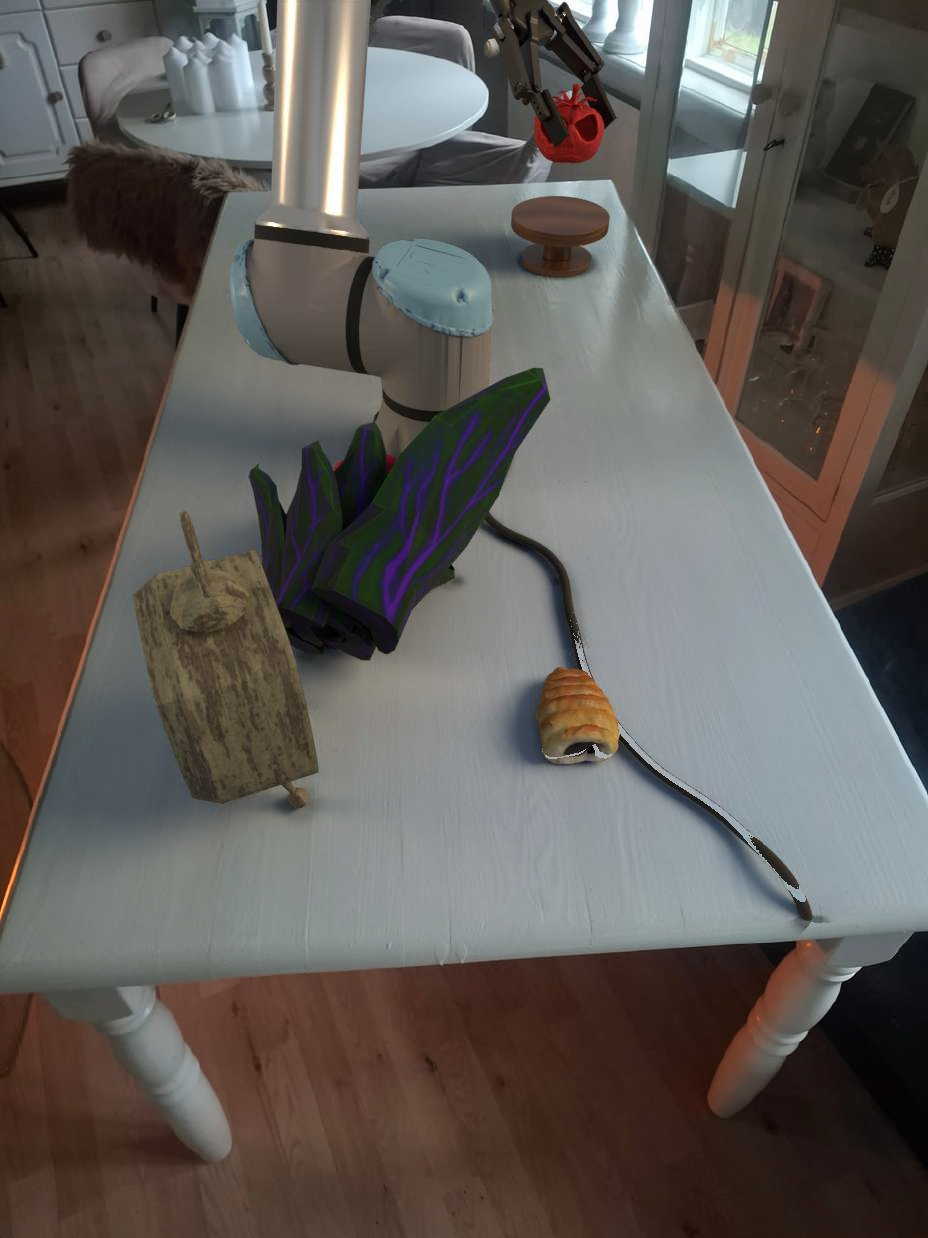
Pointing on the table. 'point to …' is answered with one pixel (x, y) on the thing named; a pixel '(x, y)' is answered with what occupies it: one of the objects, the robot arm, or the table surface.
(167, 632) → the brown boxy piece
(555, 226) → the stand
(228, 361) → the table surface
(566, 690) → the pastry
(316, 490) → the decorative plant
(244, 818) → the table surface
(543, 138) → the angry red tomato
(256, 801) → the table surface
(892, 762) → the table surface
